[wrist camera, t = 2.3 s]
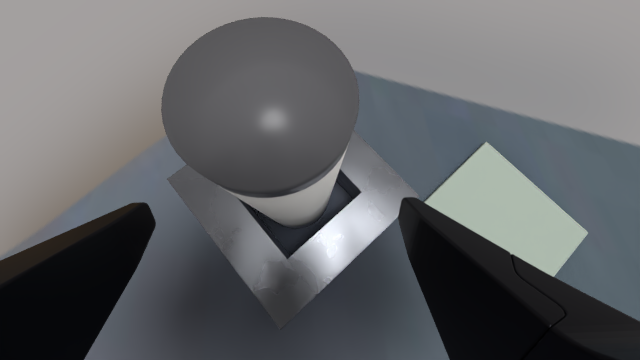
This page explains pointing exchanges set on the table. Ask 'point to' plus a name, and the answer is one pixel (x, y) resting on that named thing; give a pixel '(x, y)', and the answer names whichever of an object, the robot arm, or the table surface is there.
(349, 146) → the frame
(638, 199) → the table surface
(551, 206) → the mat
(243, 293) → the table surface
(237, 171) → the plug
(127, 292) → the table surface
